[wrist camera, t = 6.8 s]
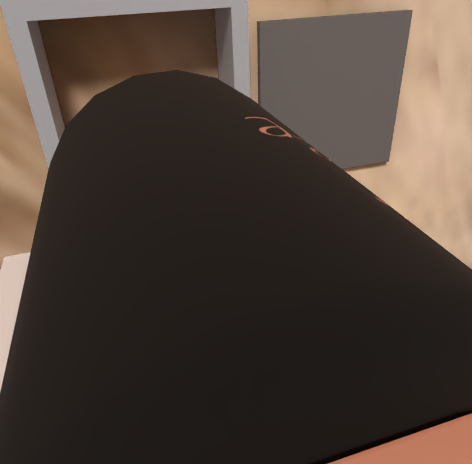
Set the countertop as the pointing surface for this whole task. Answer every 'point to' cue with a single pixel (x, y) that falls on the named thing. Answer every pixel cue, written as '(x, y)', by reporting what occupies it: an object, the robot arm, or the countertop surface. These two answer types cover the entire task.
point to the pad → (335, 81)
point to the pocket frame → (104, 4)
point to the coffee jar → (228, 299)
